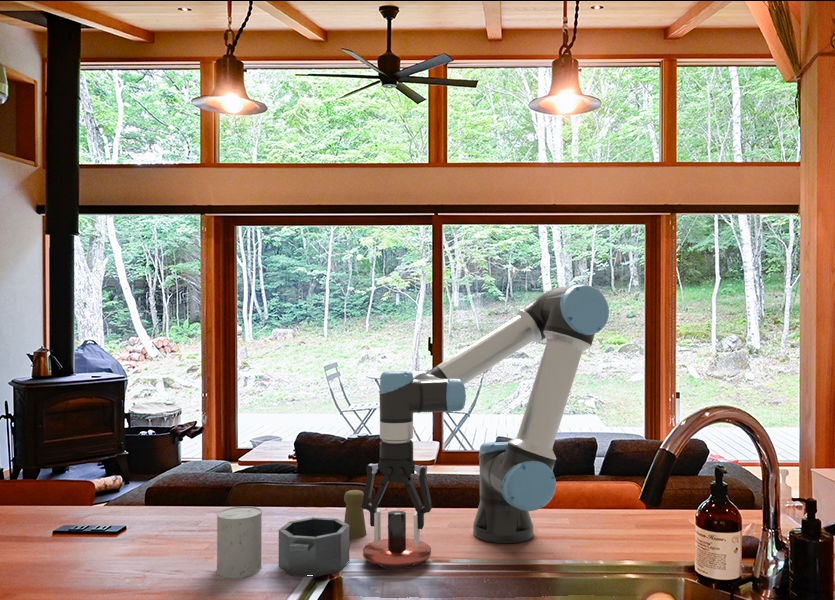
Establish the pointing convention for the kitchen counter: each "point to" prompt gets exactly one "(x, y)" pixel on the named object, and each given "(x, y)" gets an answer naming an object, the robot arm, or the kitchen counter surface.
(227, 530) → the grey concrete cylinder
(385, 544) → the lid
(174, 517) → the kitchen counter surface
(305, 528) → the pot
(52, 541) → the kitchen counter surface
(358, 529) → the olive pepper mill
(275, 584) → the kitchen counter surface
